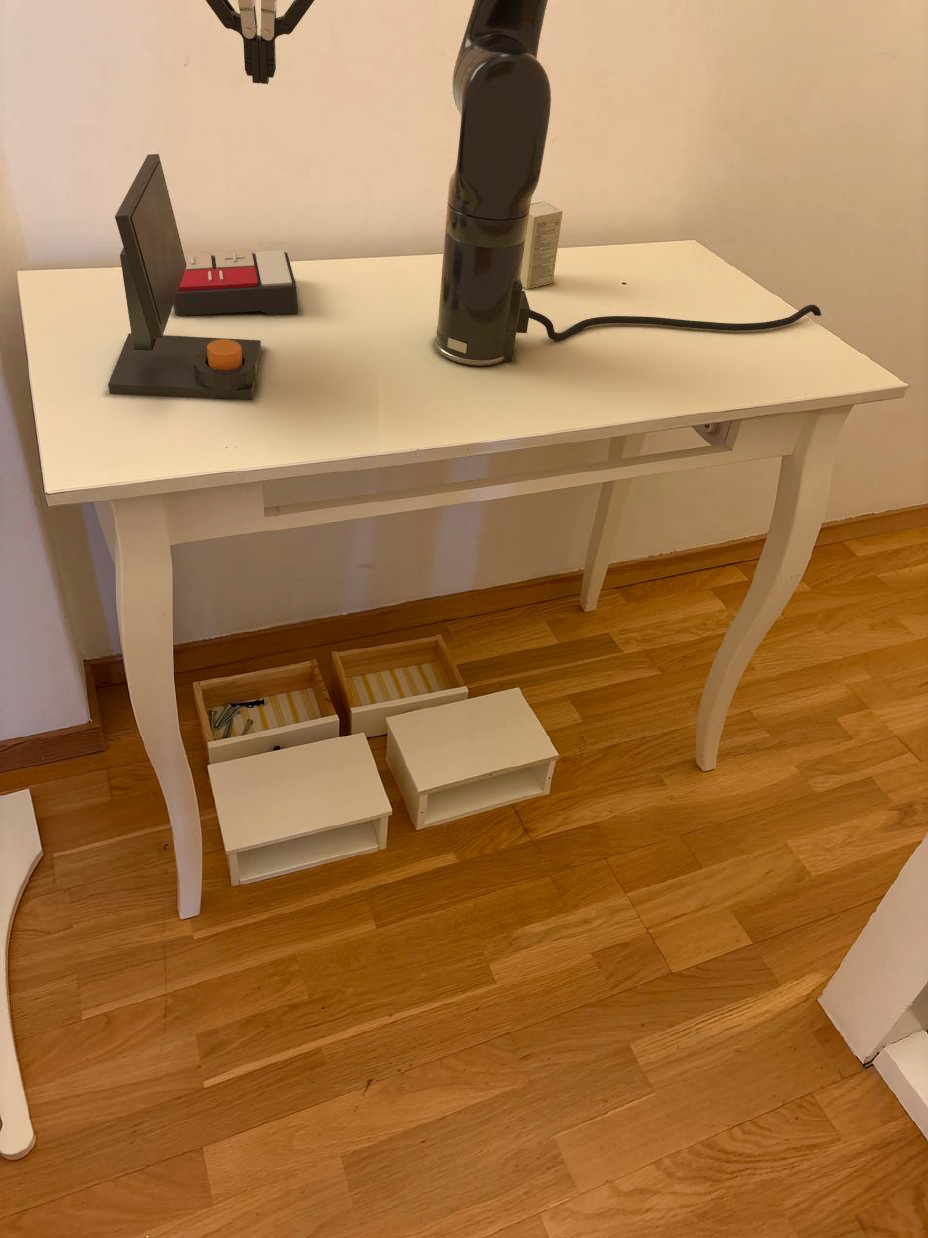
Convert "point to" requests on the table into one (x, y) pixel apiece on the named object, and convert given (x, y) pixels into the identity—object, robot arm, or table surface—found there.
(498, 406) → the table surface
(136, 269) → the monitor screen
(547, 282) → the cream printed box
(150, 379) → the monitor base
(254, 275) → the calculator
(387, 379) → the table surface
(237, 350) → the power button
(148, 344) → the monitor stand
